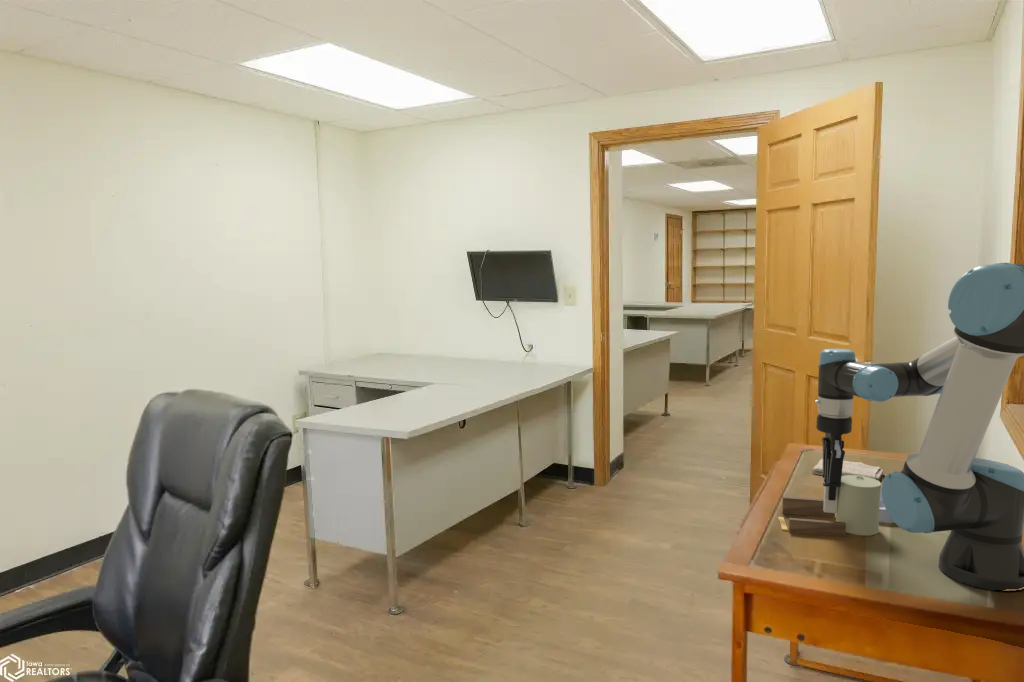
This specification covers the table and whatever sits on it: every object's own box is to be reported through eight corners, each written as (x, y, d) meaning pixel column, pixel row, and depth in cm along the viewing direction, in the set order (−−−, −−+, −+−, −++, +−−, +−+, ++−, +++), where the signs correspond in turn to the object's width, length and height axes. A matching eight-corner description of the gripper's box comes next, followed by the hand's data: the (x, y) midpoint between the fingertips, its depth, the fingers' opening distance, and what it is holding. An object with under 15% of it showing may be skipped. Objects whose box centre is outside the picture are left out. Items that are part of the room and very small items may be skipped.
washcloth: (878, 486, 192) (879, 475, 192) (810, 475, 203) (811, 465, 202) (884, 475, 202) (884, 465, 202) (819, 465, 212) (819, 455, 212)
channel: (845, 536, 157) (846, 519, 156) (782, 531, 160) (783, 514, 160) (833, 515, 169) (834, 500, 169) (775, 511, 173) (776, 495, 172)
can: (878, 524, 163) (881, 475, 162) (879, 538, 155) (882, 487, 154) (835, 518, 168) (838, 470, 166) (834, 531, 159) (837, 481, 158)
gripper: (812, 408, 168) (808, 501, 170) (822, 420, 155) (818, 520, 158) (845, 409, 166) (840, 503, 168) (858, 421, 153) (853, 523, 156)
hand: (829, 511), depth 163 cm, fingers closed
